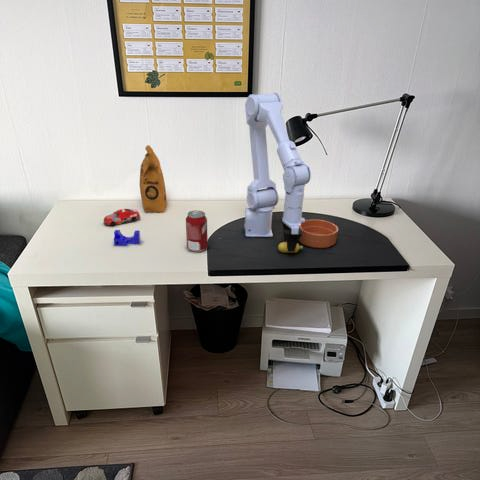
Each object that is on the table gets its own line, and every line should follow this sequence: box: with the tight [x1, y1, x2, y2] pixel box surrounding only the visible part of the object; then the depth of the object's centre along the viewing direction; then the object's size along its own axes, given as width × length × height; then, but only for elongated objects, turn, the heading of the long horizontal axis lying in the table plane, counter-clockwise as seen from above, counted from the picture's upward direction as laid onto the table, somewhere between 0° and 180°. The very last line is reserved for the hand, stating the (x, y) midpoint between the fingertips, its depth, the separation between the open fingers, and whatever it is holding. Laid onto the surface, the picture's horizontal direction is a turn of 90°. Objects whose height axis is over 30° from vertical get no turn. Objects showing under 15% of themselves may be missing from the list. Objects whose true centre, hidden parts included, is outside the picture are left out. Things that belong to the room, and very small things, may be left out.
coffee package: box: [139, 144, 168, 213], centre depth 165 cm, size 10×12×22 cm
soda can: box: [185, 210, 208, 253], centre depth 140 cm, size 7×7×12 cm
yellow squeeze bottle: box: [277, 241, 304, 254], centre depth 143 cm, size 8×3×3 cm, turn 93°
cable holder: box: [113, 229, 142, 247], centre depth 144 cm, size 8×4×4 cm, turn 90°
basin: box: [298, 218, 339, 249], centre depth 150 cm, size 13×13×5 cm
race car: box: [103, 208, 141, 227], centre depth 158 cm, size 13×5×4 cm, turn 123°
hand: (289, 245), depth 142 cm, fingers open, 7 cm apart
